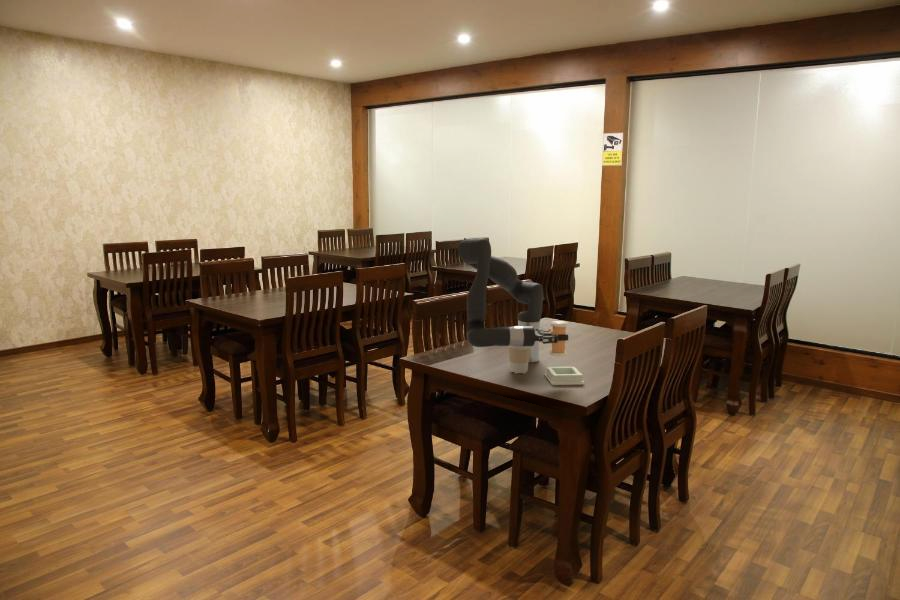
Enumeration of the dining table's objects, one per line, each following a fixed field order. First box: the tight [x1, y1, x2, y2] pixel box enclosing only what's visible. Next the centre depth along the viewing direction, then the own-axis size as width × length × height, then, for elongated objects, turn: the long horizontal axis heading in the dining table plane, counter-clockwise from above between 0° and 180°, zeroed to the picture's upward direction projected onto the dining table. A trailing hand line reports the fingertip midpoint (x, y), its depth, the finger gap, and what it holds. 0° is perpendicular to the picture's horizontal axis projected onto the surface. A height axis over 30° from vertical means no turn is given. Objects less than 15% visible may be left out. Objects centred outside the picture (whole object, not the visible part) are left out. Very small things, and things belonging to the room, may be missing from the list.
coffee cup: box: [508, 346, 531, 374], centre depth 237 cm, size 9×9×15 cm
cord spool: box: [549, 320, 569, 357], centre depth 222 cm, size 6×6×12 cm
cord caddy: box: [544, 366, 585, 386], centre depth 227 cm, size 12×12×4 cm
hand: (565, 335), depth 222 cm, fingers closed on cord spool, 4 cm apart
